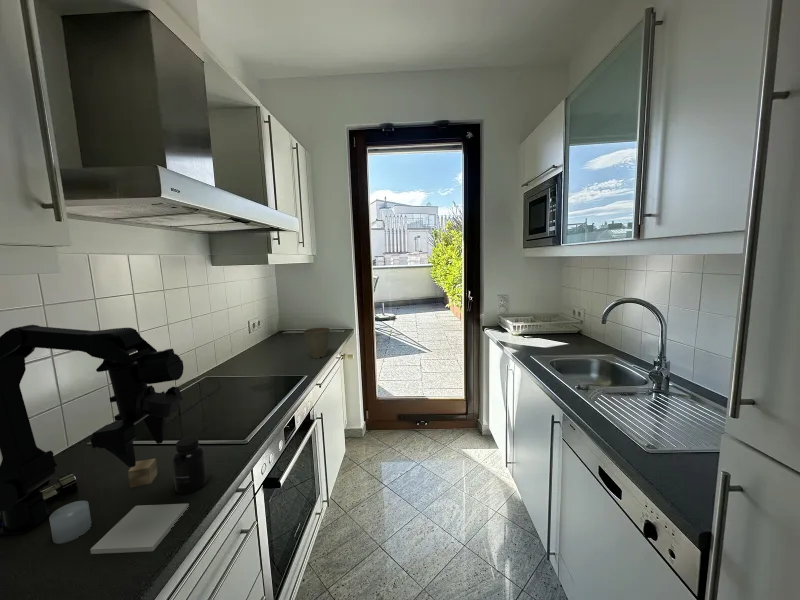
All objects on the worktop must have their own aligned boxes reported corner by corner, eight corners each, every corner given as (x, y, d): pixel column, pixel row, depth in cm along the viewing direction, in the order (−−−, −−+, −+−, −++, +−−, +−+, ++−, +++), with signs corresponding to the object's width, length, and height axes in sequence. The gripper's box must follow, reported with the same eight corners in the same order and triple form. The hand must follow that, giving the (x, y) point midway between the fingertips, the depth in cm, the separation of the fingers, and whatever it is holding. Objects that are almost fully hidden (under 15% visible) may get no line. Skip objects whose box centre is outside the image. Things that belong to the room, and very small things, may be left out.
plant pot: (334, 353, 208) (332, 327, 207) (327, 360, 194) (326, 332, 192) (309, 353, 209) (307, 327, 207) (301, 360, 194) (299, 332, 192)
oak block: (130, 487, 88) (127, 471, 87) (138, 477, 92) (136, 461, 92) (150, 484, 89) (148, 467, 88) (157, 474, 93) (155, 458, 93)
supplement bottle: (176, 498, 83) (170, 451, 82) (174, 484, 88) (169, 440, 87) (208, 487, 87) (204, 441, 85) (205, 473, 92) (200, 431, 91)
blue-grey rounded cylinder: (44, 544, 71) (40, 521, 70) (71, 522, 77) (68, 501, 76) (74, 543, 71) (70, 520, 70) (99, 521, 77) (95, 500, 76)
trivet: (91, 553, 68) (90, 549, 68) (136, 509, 80) (135, 505, 80) (153, 551, 68) (152, 546, 68) (189, 507, 80) (188, 503, 80)
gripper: (139, 398, 66) (158, 474, 68) (191, 367, 84) (204, 427, 86) (78, 407, 65) (99, 483, 67) (144, 374, 84) (158, 435, 86)
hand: (147, 454), depth 76 cm, fingers open, 9 cm apart
